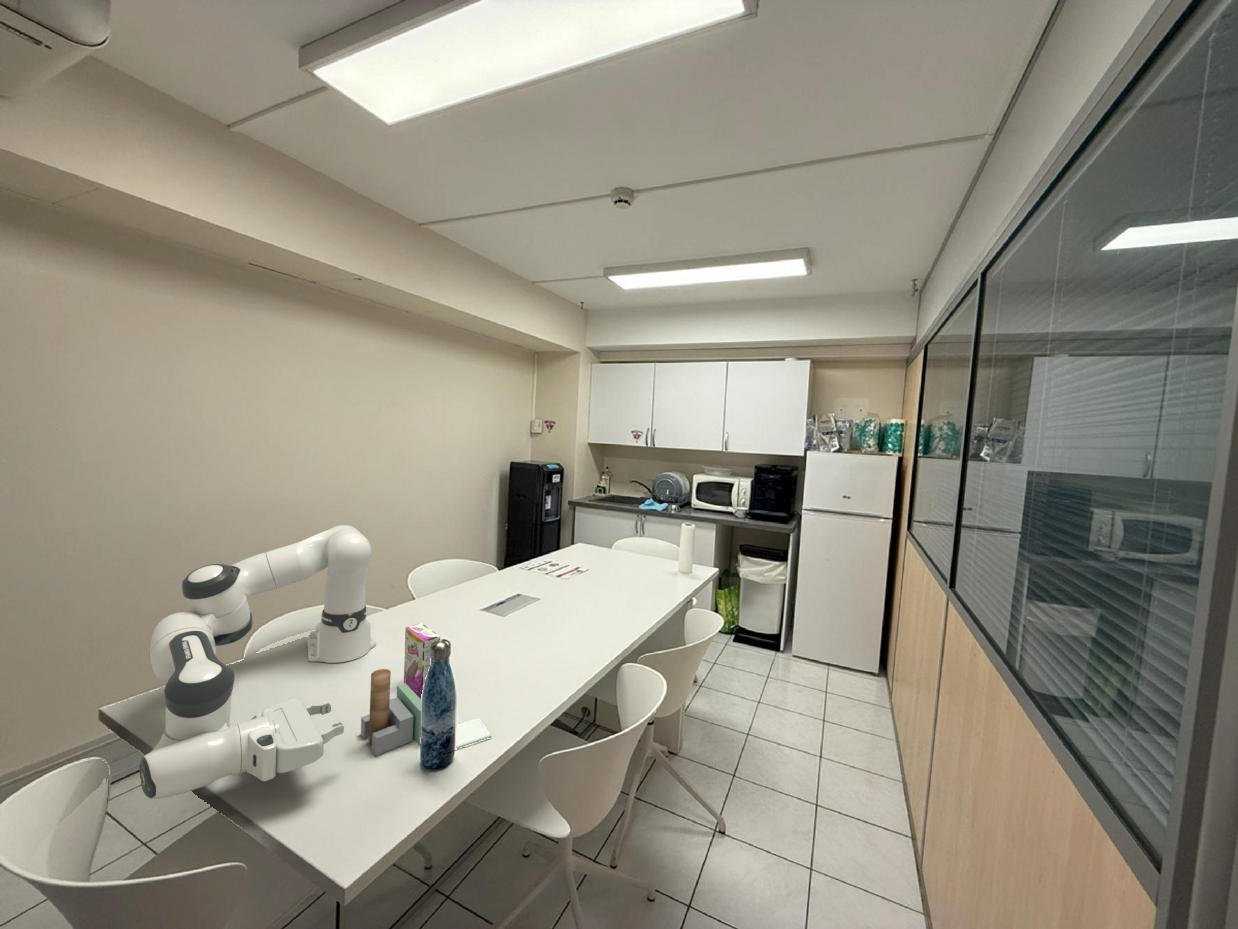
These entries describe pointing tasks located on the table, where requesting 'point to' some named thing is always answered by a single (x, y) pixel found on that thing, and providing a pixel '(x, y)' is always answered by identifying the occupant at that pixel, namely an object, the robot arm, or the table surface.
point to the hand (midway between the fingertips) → (336, 716)
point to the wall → (411, 708)
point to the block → (391, 728)
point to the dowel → (379, 701)
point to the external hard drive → (471, 732)
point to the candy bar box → (417, 655)
